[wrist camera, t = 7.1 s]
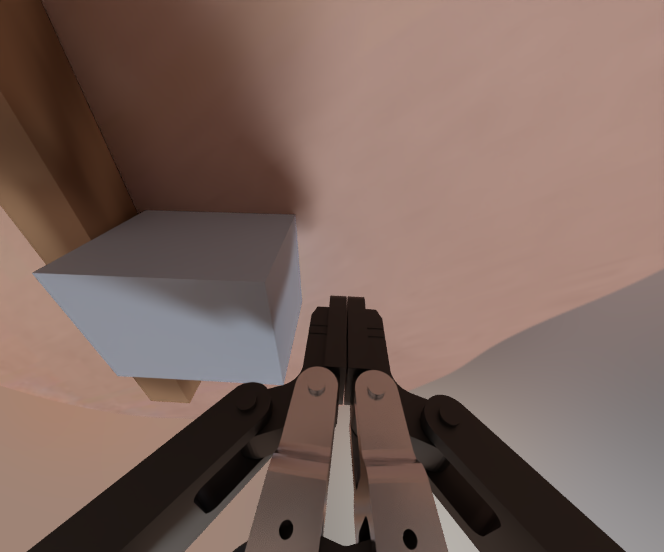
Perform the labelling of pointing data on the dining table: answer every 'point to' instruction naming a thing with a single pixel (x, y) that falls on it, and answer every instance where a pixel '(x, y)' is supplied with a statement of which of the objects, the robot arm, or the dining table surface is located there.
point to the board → (57, 155)
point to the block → (186, 295)
